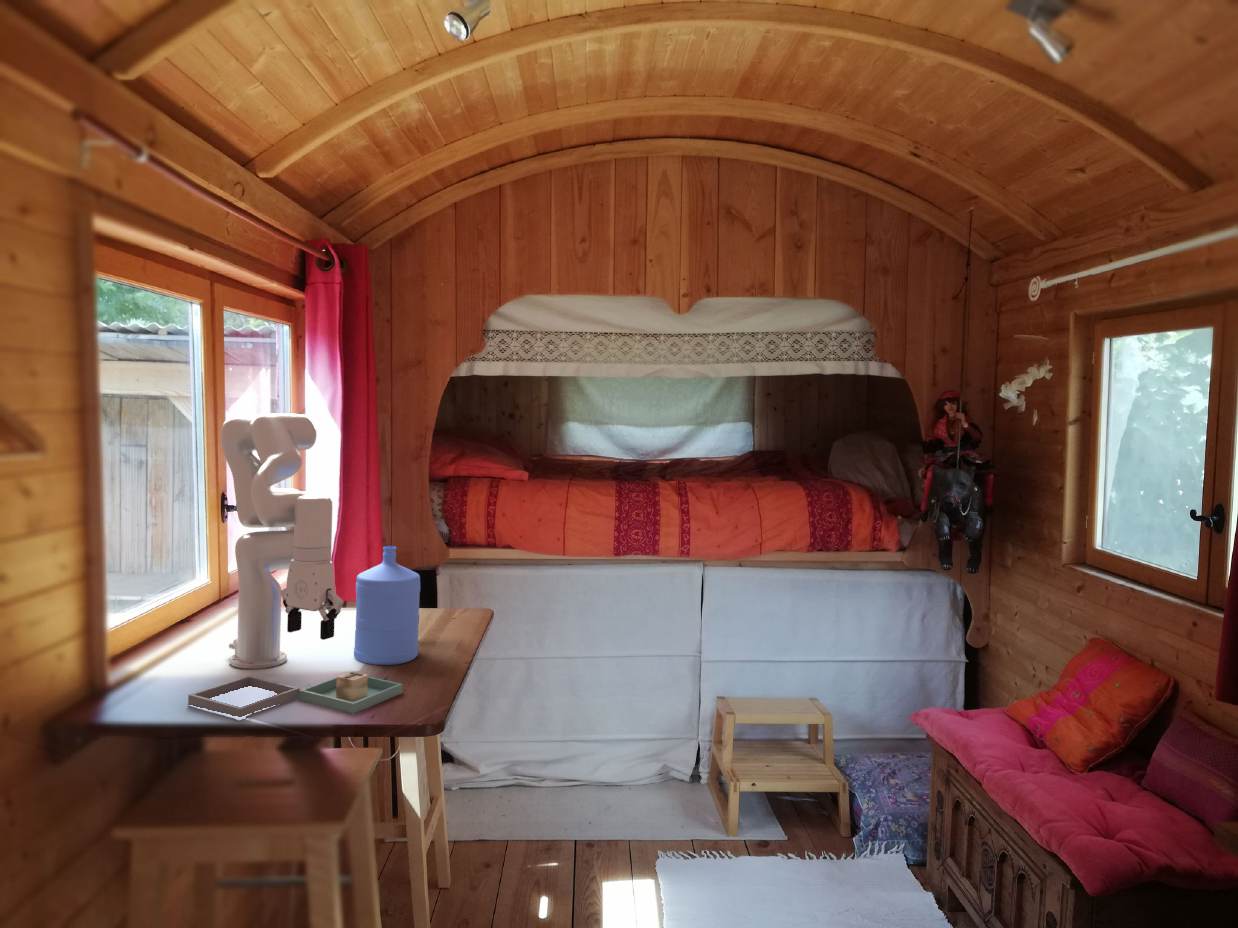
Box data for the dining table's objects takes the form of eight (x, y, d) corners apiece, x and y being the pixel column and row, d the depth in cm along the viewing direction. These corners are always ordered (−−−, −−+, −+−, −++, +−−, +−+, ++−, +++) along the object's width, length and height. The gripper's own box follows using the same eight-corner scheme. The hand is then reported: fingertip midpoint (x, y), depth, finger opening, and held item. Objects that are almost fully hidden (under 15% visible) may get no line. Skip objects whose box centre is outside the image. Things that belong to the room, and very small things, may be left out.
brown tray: (188, 706, 170) (188, 694, 170) (249, 686, 184) (249, 675, 184) (240, 720, 164) (240, 708, 164) (299, 699, 177) (299, 688, 177)
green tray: (298, 701, 176) (299, 690, 176) (350, 682, 190) (350, 671, 190) (353, 715, 170) (353, 703, 170) (402, 694, 183) (402, 683, 183)
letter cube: (336, 697, 179) (336, 675, 178) (351, 691, 183) (351, 670, 182) (352, 701, 177) (352, 679, 176) (367, 695, 181) (367, 673, 180)
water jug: (429, 659, 210) (433, 549, 208) (372, 670, 199) (376, 554, 197) (398, 645, 221) (401, 540, 219) (342, 654, 210) (345, 544, 208)
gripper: (269, 552, 176) (267, 631, 177) (328, 561, 168) (326, 645, 169) (297, 547, 183) (295, 625, 183) (356, 556, 175) (353, 637, 176)
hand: (310, 634), depth 176 cm, fingers open, 9 cm apart
